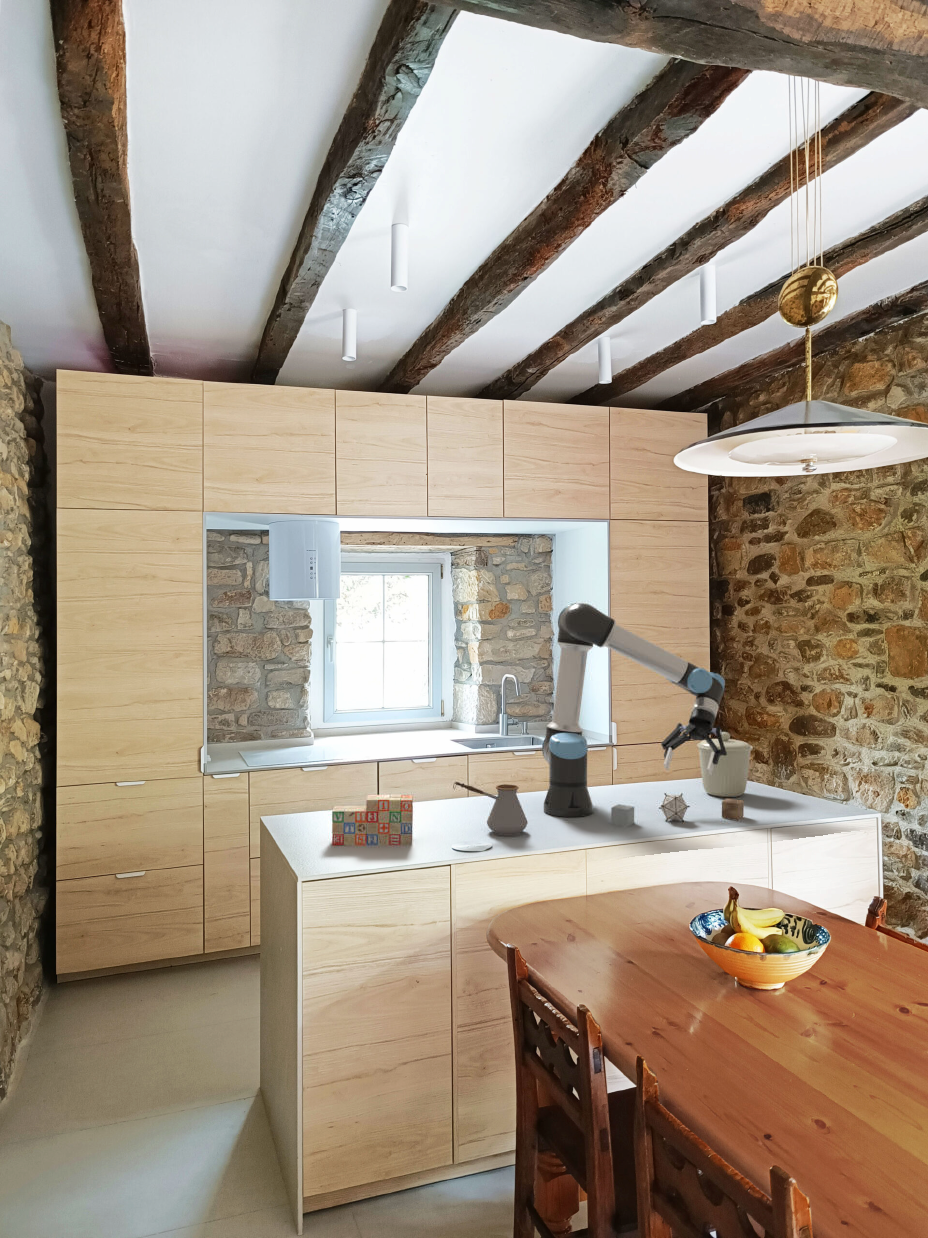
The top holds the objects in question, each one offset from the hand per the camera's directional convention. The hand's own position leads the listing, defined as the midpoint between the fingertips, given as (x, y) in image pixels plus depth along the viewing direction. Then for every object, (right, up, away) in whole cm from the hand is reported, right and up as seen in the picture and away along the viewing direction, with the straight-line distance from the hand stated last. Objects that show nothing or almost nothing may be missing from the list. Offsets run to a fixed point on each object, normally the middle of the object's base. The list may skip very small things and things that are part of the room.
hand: (687, 769), depth 257 cm
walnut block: (+13, -14, -4) cm, 19 cm away
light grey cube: (-22, -14, -11) cm, 28 cm away
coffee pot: (-61, -14, -22) cm, 66 cm away
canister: (+20, -14, +28) cm, 37 cm away
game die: (-6, -14, -8) cm, 17 cm away
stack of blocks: (-93, -14, -31) cm, 99 cm away
